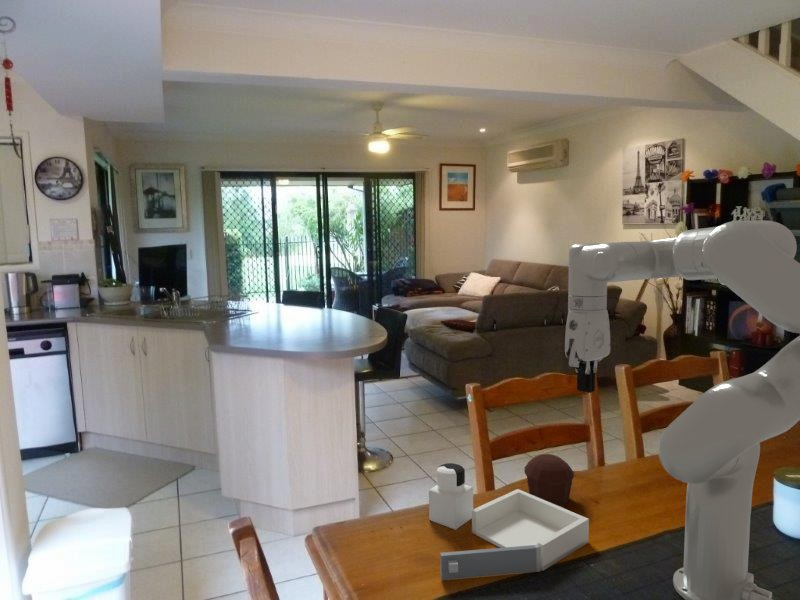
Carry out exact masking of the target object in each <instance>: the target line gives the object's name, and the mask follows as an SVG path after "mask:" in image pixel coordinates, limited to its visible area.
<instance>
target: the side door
mask: <svg viewBox="0 0 800 600" xmlns="http://www.w3.org/2000/svg"><path fill="white" fill-rule="evenodd" d="M439 554H440V556H439V557H440V559H439V560H440V565H439V566H440V567H439V568H440V579H441V580H442V581H446V580H457V579H458V580H459V579H467V578H468V579H469V578H479V577H491V576H492V577H493V576H502V575H516V574H525V573H540V572H541V571H542V570H541V546H540V545H529V546H517V547H505V548H500V547H496V548H484V549H483V548H482V549H472V550H471V549H470V550H461V551H460V550H459V551H448V552H446V551H445V552H440V553H439Z"/></svg>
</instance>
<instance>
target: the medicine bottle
mask: <svg viewBox="0 0 800 600" xmlns="http://www.w3.org/2000/svg"><path fill="white" fill-rule="evenodd" d="M465 471H466V470H465V468H464V467H463V466H462V465H460V464H458V463H454V462H453V463H452V462H450V463H443V464H440V465H439V466H438V467H437V469H436V485H434V486H433V487H432V488H430V489H429V490H428V512H429V513H428V515H429V516H428V519H429V521H430V520H431V522H434V523H436V524H439V525H442V526H443V527H444V526H445V527H447V528H450V529H451V530H455V531H456V530H458V529H459V528H460V527H462V526H464V525H465V524H466V523H467V522H468V521H470V520H472V510H473V509H474V487H473V486H472V485H467V484H466V477H465V476H466V473H465Z"/></svg>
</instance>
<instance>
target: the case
mask: <svg viewBox="0 0 800 600" xmlns="http://www.w3.org/2000/svg"><path fill="white" fill-rule="evenodd" d="M589 525H590V518H588V517H586V516H583V515H581V514H578V513H575V512H573V511H571V510H568V509H566V508H564V507H563V506H557V505H555V504H552V503H550V502H548V501H545V500H543V499H540V498H538V497H536V496H533V495H531V494H529V493H528V492H526V491H524V490H521V489H519V488H517V489H515V490H513V491H510V492H507V493H506V494H504V495H501V496H499V497H497V498H495V499H492V500H491V501H488V502H486V503H484V504H482V505H479V506H477V507H476V508H473V510H472V518H471V533H472V534H474V535H475V536H478V537H480V538H481V539H484V540H485V541H486V542H489V543H491V544H492V545H494V546H496V547H497V548H505V547H517V546H529V545H540V546H541V571H543V572H544V571H545V570H547V569H548V568H550V567H551V566H553V565H555V564H556V563H557V562H560V561H561V560H563V559H564V558H566V557H567V556H569V555H571V554H572V553H574V552H575V551H577V550H579V549H581V548H582V547H584V546H586V545H587V544H589V534H590V533H589V532H590V529H589V528H590V526H589Z"/></svg>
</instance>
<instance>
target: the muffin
mask: <svg viewBox="0 0 800 600" xmlns="http://www.w3.org/2000/svg"><path fill="white" fill-rule="evenodd" d="M523 470H524V474H525V476H526V480H527V486H528V492H529V494H531V495H533V496H536V497H538V498H540V499H543V500H545V501H548V502H550V503H552V504H555V505H557V506H559V507H564V506H565V504H568V503H569V500H570V495H571V489H572V485H573V479H574V477H575V472H574V470H573V469H572V467H571V466H570V465H569V464H568V463H567V462H566V461H565V460H564V459H562V457H560V456H557V455H555V454H550V453H542V454H538V455H535V456H534V457H533V458H531V459H530V460H529V461H528V462H527V463H526V465H525V466H524V469H523Z"/></svg>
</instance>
